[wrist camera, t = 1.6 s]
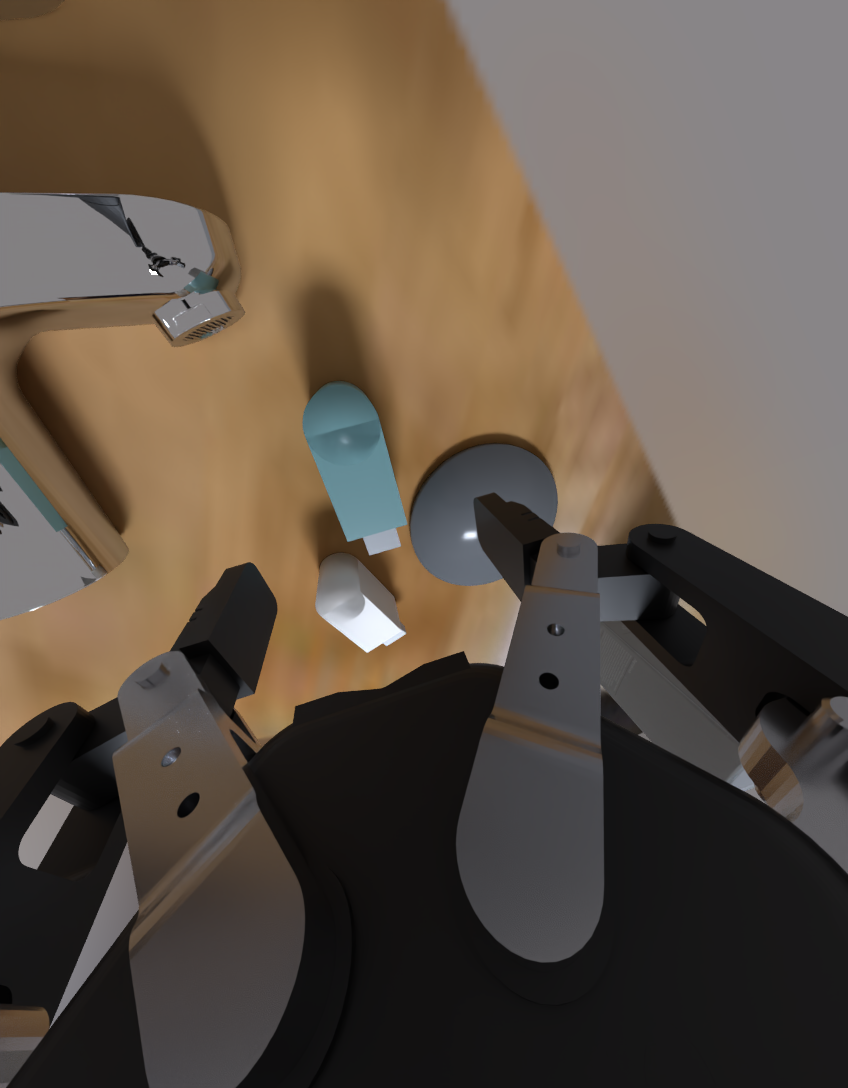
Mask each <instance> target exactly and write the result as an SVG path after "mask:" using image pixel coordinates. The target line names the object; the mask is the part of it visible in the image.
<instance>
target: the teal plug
mask: <svg viewBox="0 0 848 1088" xmlns="http://www.w3.org/2000/svg"><path fill="white" fill-rule="evenodd" d="M303 430H304V434H305V437H306V440H307V442H308V445H309V447H310V450H311V452H312V455H313V457H314V460H315V462H316V465H317V467H318V470H319V472H320V475H321V477H322V479H323V482H324V484H325V487H326V489H327V492H328V494H329V497H330V499H331V502H332V504H333V507H334V509H335V512H336V514H337V517H338V519H339V522H340V524H341V527H342V529H343V531H344V534H345V536H346V539H347V541H348V542H349V541H353V540H356V539H359V538H363V539H364V542H365V545H366V547H367V550H368V553H369V556H370V555H373V554H377V553H380V552H383V551H387V550H390V549H393V548H397V547H400V546H401V544H400V541H399V538H398V534H397V531H396V528H397V527H400V526H404V525H407V521H406V518H405V514H404V510H403V506H402V503H401V499H400V495H399V492H398V488H397V484H396V480H395V477H394V473H393V469H392V466H391V462H390V458H389V454H388V451H387V447H386V443H385V439H384V436H383V432H382V428H381V425H380V421H379V417H378V414H377V412H376V410H375V408H374V407H373V405H372V404H371V402H370V401H369V399H368V397H367V396H366V395H365V393H364V392H363V391H362V390H361V389H360V388H358V387H357V386H355V385H353V384H351V383H349V382H345V381H334V382H330V383H327V384H325V385H324V386H322V387H321V388H320V389H319V390H318V391H317V392H316V393H315V395H314V396H313V397H312V398H311V399H310V401H309V402H308V404H307V406H306V408H305V411H304V415H303Z"/></svg>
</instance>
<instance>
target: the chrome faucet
mask: <svg viewBox="0 0 848 1088" xmlns="http://www.w3.org/2000/svg"><path fill="white" fill-rule="evenodd" d="M63 2H64V0H0V21H3V20H14V19H26V18H34V17H38V16H42V15H45V14H47V13H49V12H51V11H53V10H55V9H56V8H58V7H59V6H60V5H61V4H62V3H63ZM240 280H241V266H240V263H239V259H238V256H237V253H236V249H235V246H234V243H233V239H232V236H231V233H230V230H229V227H228V225H227V224H226V223H225V222H224V221H223V220H222V219H220V218H219V217H217V216H216V215H214V214H212V213H210V212H208V211H205V210H203V209H200V208H197V207H194V206H191V205H188V204H184V203H180V202H177V201H173V200H167V199H162V198H156V197H150V196H141V195H131V194H104V193H18V192H0V620H2V619H6V618H10V617H13V616H16V615H19V614H22V613H26V612H29V611H32V610H34V609H37V608H40V607H42V606H45V605H48V604H50V603H53V602H55V601H57V600H60V599H62V598H64V597H66V596H69V595H71V594H73V593H75V592H77V591H79V590H81V589H83V588H85V587H87V586H89V585H91V584H92V583H94V582H96V581H97V580H99V579H101V578H102V577H104V576H105V575H107V574H108V573H110V572H111V571H112V570H114V569H115V568H116V567H118V566H119V565H120V564H121V563H122V562H123V561H124V560H125V559H126V557H127V555H128V553H129V548H128V546H127V545H126V543H125V542H124V540H123V539H122V537H121V536H120V534H119V533H118V532H117V530H116V529H115V527H114V526H113V524H112V523H111V521H110V520H109V518H108V517H107V516H106V514H105V513H104V511H103V510H102V508H101V507H100V505H99V504H98V503H97V501H96V500H95V498H94V497H93V495H92V494H91V492H90V491H89V489H88V488H87V487H86V485H85V484H84V482H83V481H82V479H81V478H80V476H79V475H78V474H77V472H76V471H75V469H74V468H73V466H72V465H71V463H70V462H69V460H68V459H67V458H66V456H65V455H64V453H63V452H62V450H61V449H60V447H59V446H58V445H57V443H56V442H55V440H54V439H53V437H52V436H51V434H50V433H49V432H48V430H47V429H46V427H45V426H44V424H43V423H42V421H41V420H40V418H39V417H38V416H37V414H36V413H35V411H34V410H33V408H32V407H31V405H30V404H29V403H28V401H27V400H26V398H25V397H24V395H23V393H22V391H21V389H20V388H19V384H18V380H17V373H16V369H17V364H18V361H19V359H20V356H21V354H22V352H23V350H24V349H25V347H26V345H27V344H28V342H29V341H30V340H31V338H32V337H34V336H35V335H37V334H39V333H41V332H46V331H58V330H73V329H89V328H105V327H120V326H136V325H151V324H155V325H156V327H157V328H158V329H159V330H160V332H161V333H162V334H163V336H164V337H165V338H166V340H167V341H168V342H169V343H170V345H171V346H172V347H182V346H186V345H190V344H193V343H196V342H199V341H201V340H204V339H206V338H208V337H210V336H212V335H214V334H216V333H218V332H220V331H222V330H224V329H226V328H228V327H229V326H231V325H233V324H234V323H236V322H237V321H239V320H240V319H241V318H242V317H243V316H244V315H245V310H244V309H243V307H242V305H241V304H240V302H239V300H238V299H237V297H236V296H235V294H236V291H237V289H238V287H239V283H240Z"/></svg>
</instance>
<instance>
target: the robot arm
mask: <svg viewBox="0 0 848 1088" xmlns="http://www.w3.org/2000/svg"><path fill="white" fill-rule="evenodd" d="M473 504H474V512H475V520H476V528H477V535H478V540H479V543H480V546H481V548H482V550H483V551H484V553H485V554H486V555H487V557H488V558H489V559H490V561H491V562H492V563H493V565H494V566H495V567H496V569H497V570H498V571H499V573H500V574H501V576H502V577H503V578H504V580H505V581H506V582H507V584H508V585H509V586H510V588H511V589H512V590H513V592H514V593H515V594H516V596H517V597H518V598H519V600H520V601H521V605H520V609H519V613H518V617H517V620H516V624H515V628H514V632H513V636H512V639H511V643H510V647H509V651H508V655H507V659H506V662H505V666H504V667H503V666H499V665H494V664H487V663H471V664H469V662H468V660H467V658H466V655H465V653H464V651H463V652H460V653H456V654H453V655H450V656H447V657H444V658H441V659H438V660H435V661H432V662H429V663H426V664H423V665H422V666H420V667H418V668H417V669H415V670H413V671H412V672H410V673H408V674H406V675H405V676H403V677H401V678H400V679H398V680H396V681H395V682H393V683H391V684H390V685H388V686H386V687H384V688H381V689H372V690H360V691H348V692H338V693H335V694H332V695H329V696H325V697H322V698H319V699H316V700H313V701H310V702H307V703H304V704H301V705H298V706H295V713H294V719H293V723H292V724H291V725H289V726H288V727H286V728H285V729H283V730H282V731H281V732H279V733H278V734H277V735H275V736H274V737H273V738H272V739H271V740H269V741H268V742H267V743H266V744H265V745H264V746H263V747H262V746H261V745H260V743H259V741H258V740H257V738H256V737H255V736H254V734H253V733H252V731H251V730H250V728H249V727H248V725H247V724H246V722H245V721H244V719H243V718H242V716H241V715H240V713H239V712H238V711H237V710H236V709H235V708H234V705H235V702H236V700H237V699H240V698H243V697H246V696H249V695H252V694H255V690H256V687H257V683H258V679H259V676H260V672H261V669H262V665H263V662H264V658H265V654H266V651H267V647H268V644H269V640H270V636H271V633H272V629H273V626H274V622H275V618H276V615H277V602H276V599H275V597H274V595H273V593H272V592H271V590H270V588H269V587H268V585H267V584H266V582H265V580H264V579H263V577H262V575H261V574H260V572H259V571H258V569H257V568H256V566H255V565H254V564H253V563H250V562H249V563H245V564H242V565H238V566H235V567H231V568H228V569H226V570H225V571H224V573H223V574H222V576H221V578H220V580H219V581H218V583H217V585H216V586H215V587H214V588H213V589H212V590H211V591H210V592H209V593H208V594H207V595H206V596H205V597H204V598H202V600H201V601H200V603H199V605H198V606H197V608H196V610H195V612H194V613H193V614H192V616H191V618H190V619H189V621H190V622H188V623H187V624H186V626H185V627H184V629H183V631H182V632H181V634H180V635H179V637H178V639H177V640H176V642H175V644H174V645H173V647H172V648H171V650H170V652H167V653H164V654H161V655H159V656H157V657H155V658H153V659H151V660H149V661H148V662H146V663H145V664H143V665H142V666H141V667H139V668H138V669H137V670H136V671H134V672H133V673H132V674H131V675H130V676H129V677H128V678H127V679H126V681H125V682H124V683H123V685H122V686H121V688H120V690H119V692H118V697H117V698H115V699H113V700H111V701H109V702H107V703H105V704H103V705H101V706H100V707H98V708H96V709H94V710H92V711H90V712H87V711H86V710H85V709H83V708H82V707H80V706H79V705H77V704H76V703H74V702H67V703H63V704H59V705H57V706H54V707H52V708H50V709H48V710H46V711H44V712H43V713H41V714H39V715H38V716H36V717H34V718H33V719H31V720H30V721H29V722H27V723H26V724H25V725H23V726H22V727H21V728H19V729H18V730H17V731H16V732H15V733H14V734H12V735H11V736H10V737H9V738H8V739H7V740H6V741H5V742H4V743H3V744H2V746H1V747H0V1088H848V617H847V616H845V615H843V614H842V613H840V612H838V611H836V610H834V609H832V608H830V607H828V606H826V605H825V604H823V603H821V602H819V601H817V600H815V599H813V598H812V597H810V596H808V595H806V594H804V593H802V592H800V591H798V590H797V589H795V588H793V587H791V586H789V585H787V584H785V583H783V582H782V581H780V580H778V579H776V578H774V577H772V576H770V575H768V574H766V573H765V572H763V571H761V570H759V569H757V568H755V567H753V566H752V565H750V564H748V563H746V562H744V561H742V560H740V559H738V558H737V557H735V556H733V555H731V554H729V553H727V552H725V551H723V550H721V549H720V548H718V547H716V546H714V545H712V544H710V543H708V542H706V541H705V540H703V539H701V538H699V537H697V536H695V535H693V534H691V533H690V532H688V531H686V530H684V529H681V528H678V527H675V526H670V525H664V524H647V525H641V526H638V527H636V528H634V529H632V530H631V531H630V533H629V537H628V543H627V544H616V545H605V546H597V544H596V543H595V542H594V541H593V540H592V539H591V538H589V537H587V536H584V535H581V534H576V533H559V532H558V531H557V530H556V529H554V528H553V527H552V526H550V525H549V524H548V523H547V522H545V521H544V520H543V519H542V518H539V516H538V515H536V514H535V513H534V512H533V513H532V511H531V510H530V509H529V508H527V507H526V506H525V505H523V504H520V503H517V502H513V501H510V502H506V501H504V500H503V499H502V498H501V497H500V496H499V495H497V494H496V493H495V492H493V493H490V494H486V495H483V496H479V497H476V498H474V501H473ZM680 598H681V599H683V600H684V601H685V602H687V603H688V604H689V605H691V606H692V607H693V608H695V609H696V610H697V611H698V612H699V613H700V614H701V615H702V617H703V618H704V620H705V622H706V625H707V626H705V625H704V624H703V623H702V622H700V621H699V620H698V619H696V618H695V617H694V616H693V615H691V614H690V613H689V612H687V611H686V610H685V609H684V608H682V607H681V606H680V605H679V604H678V602H679V599H680ZM600 621H621V622H622V623H623V624H624V625H625V626H626V627H627V628H628V629H629V630H630V631H631V632H632V633H633V634H634V635H635V636H636V637H637V638H638V639H639V640H640V641H641V642H642V643H643V644H644V645H645V646H646V647H647V648H648V649H649V651H650V652H651V653H652V654H653V655H654V656H655V657H656V658H657V659H658V660H659V661H660V662H661V663H662V664H663V665H664V666H665V667H666V668H667V669H668V670H669V671H670V672H671V673H672V674H673V675H674V676H675V677H676V678H677V679H678V680H679V681H680V682H681V683H682V684H683V685H684V687H685V688H686V689H687V690H688V691H689V692H690V693H691V694H692V695H693V696H694V697H695V698H696V699H697V700H698V701H699V702H700V703H701V704H702V705H703V706H704V707H705V708H706V709H707V710H708V711H709V712H710V713H711V714H712V715H713V716H714V717H715V718H716V719H717V720H718V721H719V722H720V724H721V725H722V726H723V727H724V728H725V729H726V730H727V731H728V732H729V733H730V734H731V735H732V736H733V737H734V738H735V739H736V740H737V741H738V742H739V746H738V754H739V758H740V761H741V764H742V766H743V768H744V770H745V771H746V773H747V775H748V776H749V777H750V779H751V780H752V781H753V783H754V787H755V790H756V792H757V793H758V795H759V796H760V798H761V799H762V800H763V801H764V802H765V803H766V804H765V803H763V802H762V801H760V800H758V799H757V798H755V797H753V796H751V795H750V794H748V793H746V792H745V791H743V790H741V789H739V788H737V787H735V786H733V785H731V784H729V783H728V782H726V781H724V780H722V779H720V778H718V777H716V776H714V775H712V774H711V773H709V772H707V771H705V770H703V769H701V768H699V767H697V766H695V765H694V764H692V763H690V762H688V761H686V760H684V759H682V758H680V757H678V756H676V755H675V754H673V753H671V752H669V751H667V750H665V749H663V748H661V747H659V746H658V745H656V744H654V743H652V742H650V741H648V740H646V739H644V738H642V737H641V736H639V735H637V734H635V733H633V732H631V731H629V730H627V729H625V728H624V727H622V726H620V725H618V724H616V723H614V722H612V721H610V720H608V719H607V718H605V717H603V716H601V715H600ZM50 794H52V795H54V796H56V797H58V798H60V799H62V800H64V801H66V802H68V803H70V804H72V805H74V806H73V808H72V810H71V812H70V813H69V815H68V817H67V819H66V820H65V822H64V824H63V825H62V827H61V829H60V831H59V832H58V834H57V836H56V838H55V839H54V841H53V843H52V845H51V846H50V848H49V850H48V852H47V853H46V855H45V857H44V858H43V860H42V862H41V864H40V865H39V867H38V869H37V870H36V869H33V868H30V867H27V866H25V865H23V864H22V863H21V862H20V860H19V856H18V850H19V845H20V842H21V839H22V838H23V836H24V834H25V832H26V831H27V829H28V828H29V826H30V824H31V823H32V822H33V820H34V818H35V817H36V815H37V814H38V812H39V811H40V809H41V807H42V806H43V804H44V803H45V801H46V800H47V798H48V797H49V795H50ZM767 804H768V805H767ZM127 842H128V848H129V854H130V859H131V865H132V870H133V875H134V881H135V887H136V892H137V898H138V904H139V910H138V911H137V913H136V914H135V915H134V916H133V918H132V919H131V920H130V922H129V923H128V925H127V926H126V927H125V928H124V930H123V931H122V933H121V934H120V935H119V937H118V938H117V939H116V941H115V942H114V943H113V945H112V946H111V948H110V949H109V950H108V952H107V953H106V954H105V955H104V957H103V958H102V959H101V961H100V962H99V963H98V965H97V966H96V967H95V969H94V970H93V972H92V973H91V974H90V975H89V977H88V978H87V980H86V981H85V982H84V984H83V985H82V986H81V988H80V989H79V990H78V992H77V993H76V994H75V996H74V997H73V998H72V1000H71V1001H70V1002H69V1004H68V1005H67V1006H66V1008H65V1009H64V1011H63V1012H62V1013H61V1014H60V1016H59V1017H58V1018H57V1020H56V1021H55V1022H54V1024H53V1025H52V1026H51V1028H50V1025H51V1023H52V1021H53V1018H54V1016H55V1013H56V1011H57V1009H58V1006H59V1004H60V1001H61V999H62V997H63V994H64V992H65V989H66V987H67V985H68V982H69V980H70V977H71V975H72V973H73V970H74V968H75V966H76V963H77V961H78V958H79V956H80V954H81V951H82V949H83V946H84V944H85V942H86V939H87V937H88V934H89V932H90V929H91V927H92V925H93V922H94V920H95V918H96V915H97V913H98V910H99V908H100V906H101V903H102V901H103V898H104V896H105V894H106V891H107V889H108V887H109V884H110V882H111V879H112V877H113V874H114V872H115V870H116V867H117V865H118V863H119V860H120V858H121V855H122V853H123V851H124V848H125V846H126V843H127ZM49 1028H50V1029H49Z"/></svg>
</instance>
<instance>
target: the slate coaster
mask: <svg viewBox="0 0 848 1088" xmlns="http://www.w3.org/2000/svg"><path fill="white" fill-rule="evenodd" d="M493 492H495V493H496V494H497V495H499V496H500V497H501V498H502V499H503V500H504V501H506V502H510V501H513V502H517V503H520V504H523V505H525V506H526V507H527V508H529V509H530V510H531V511H532V513H533V512H534V513H535V514H536V515H538V516H539V518H542V519H543V520H544V521H545V522H547V523H548V524H549V525H550V526H552V527H553V524H554V521H555V517H556V513H557V504H558V498H557V489H556V484H555V482H554V479H553V476H552V474H551V473H550V471H549V469H548V468H547V466H546V465H545V464H544V463H543V462H542V461H541V460H540V459H539V458H538V457H537V456H535V455H534V454H532V453H530V452H529V451H527V450H524V449H522V448H520V447H517V446H514V445H510V444H503V443H489V444H482V445H477V446H474V447H471V448H468V449H465V450H463V451H461V452H459V453H457V454H455V455H453V456H452V457H450V458H449V459H447V460H446V461H444V462H443V463H442V464H441V465H440V466H439V467H437V468H436V469H435V470H434V471H433V473H432V474H431V475H430V476H429V477H428V478H427V480H426V481H425V482H424V484H423V485H422V487H421V489H420V490H419V492H418V494H417V496H416V499H415V501H414V504H413V507H412V511H411V516H410V536H411V542H412V545H413V547H414V550H415V553H416V555H417V557H418V559H419V561H420V562H421V563H422V565H423V566H424V567H425V568H426V569H427V570H428V571H429V572H430V573H431V574H433V575H434V576H436V577H437V578H439V579H441V580H443V581H445V582H448V583H451V584H456V585H465V586H473V585H482V584H487V583H491V582H494V581H497V580H499V579H502V578H503V577H502V576H501V574H500V573H499V571H498V570H497V569H496V567H495V566H494V565H493V563H492V562H491V561H490V559H489V558H488V557H487V555H486V554H485V553H484V551H483V550H482V548H481V546H480V543H479V540H478V535H477V528H476V520H475V512H474V504H473V501H474V498H476V497H479V496H483V495H486V494H490V493H493Z"/></svg>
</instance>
